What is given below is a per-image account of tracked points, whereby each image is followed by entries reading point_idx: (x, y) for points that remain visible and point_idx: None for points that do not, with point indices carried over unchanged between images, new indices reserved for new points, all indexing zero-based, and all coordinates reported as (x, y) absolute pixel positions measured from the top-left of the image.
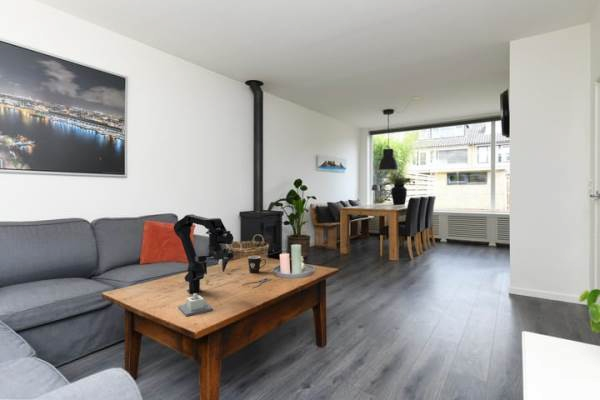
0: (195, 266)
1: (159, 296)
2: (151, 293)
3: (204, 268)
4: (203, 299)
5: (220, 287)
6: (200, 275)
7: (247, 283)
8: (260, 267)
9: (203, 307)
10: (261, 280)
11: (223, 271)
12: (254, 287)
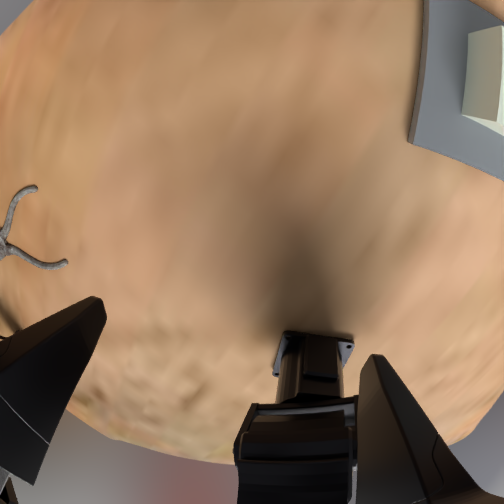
0: (334, 496)
1: (444, 379)
2: (427, 411)
3: (440, 439)
4: (502, 27)
5: (165, 317)
6: (294, 420)
7: (44, 264)
8: (3, 338)
9: (471, 35)
10: (3, 250)
11: (96, 299)
12: (29, 187)
